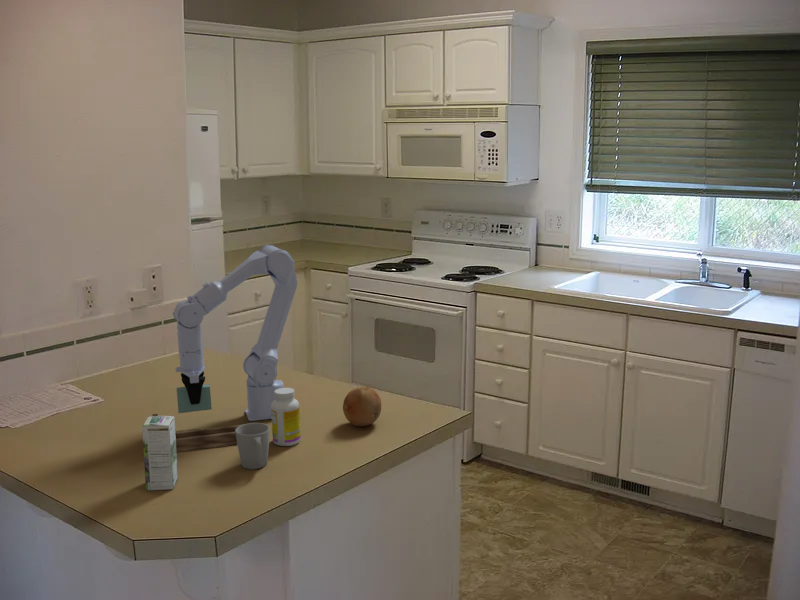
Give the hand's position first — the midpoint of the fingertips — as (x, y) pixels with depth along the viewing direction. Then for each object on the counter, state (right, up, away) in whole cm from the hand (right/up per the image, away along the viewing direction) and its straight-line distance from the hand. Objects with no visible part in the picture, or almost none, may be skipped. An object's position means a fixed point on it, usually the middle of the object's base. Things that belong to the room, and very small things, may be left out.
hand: (194, 402), depth 209 cm
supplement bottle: (+24, -9, -9) cm, 27 cm away
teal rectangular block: (0, -2, 0) cm, 2 cm away
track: (+4, -9, -9) cm, 13 cm away
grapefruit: (+42, -6, +2) cm, 42 cm away
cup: (+19, -12, -22) cm, 32 cm away
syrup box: (+1, -14, -31) cm, 34 cm away
